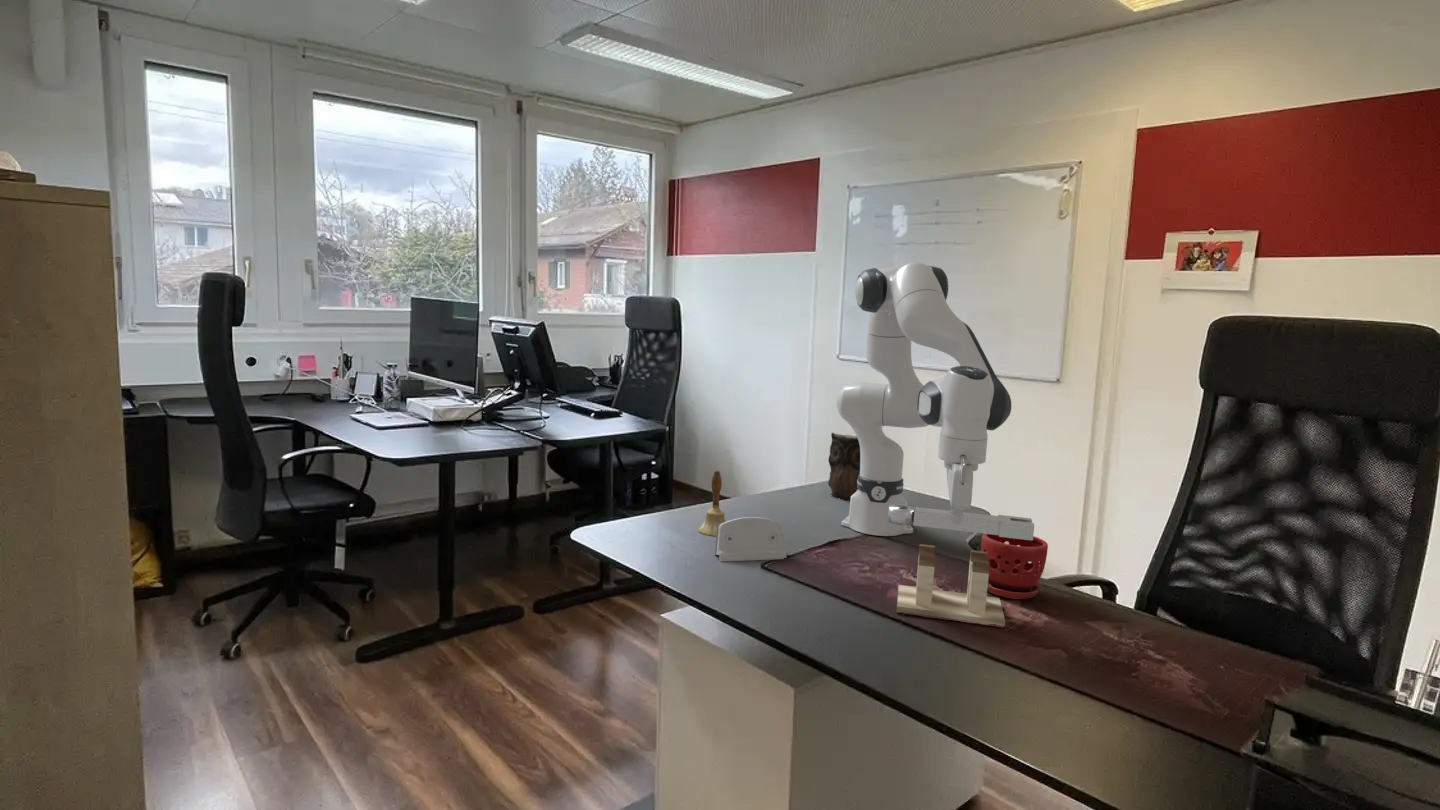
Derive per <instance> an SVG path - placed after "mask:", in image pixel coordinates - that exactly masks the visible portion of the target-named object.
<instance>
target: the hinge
mask: <svg viewBox="0 0 1440 810" xmlns="http://www.w3.org/2000/svg"><path fill="white" fill-rule="evenodd" d="M714 546H715V549H714V556H719V557H718V558H719V562H720V561H721V562H740V561H741V562H744V561H745V562H746V561H766V560H767V561H769V560H771V561H772V560H785V559H784V558H788V557H787V551H786V546H785V542H784V536H783V529H782V525H781V523H780V522H778V521H775V520H772V519H770V518H764V517H758V516H755V517H754V516H746V517H744V516H743V517H737V518H733V519H729V520H727V521H726V520H725V522H724V523H721V524H719V525H718V527H717V534H716V536H715V545H714Z"/></svg>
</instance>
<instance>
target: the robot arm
mask: <svg viewBox="0 0 1440 810" xmlns="http://www.w3.org/2000/svg"><path fill="white" fill-rule="evenodd" d="M854 295H855V300H856V302H857V306H858V307H859V308H860V310H862V311H863V312H867V313H869V316H868V323H867V334H866V335H867V336H866V338H867V340H866V360H867V363H868V365H869V366H870V367H871V368H872V369H873V370H875V371H876V372H878V373H880V374H882V375H883V376H884V377H885V378H886V379H887V381H888V383H887V384H886V383H878V382H877V383H874V382H873V383H872V382H865V381H864V382H856V383H855V382H853V383H847V384H845V385H844V386H843V387H842V388H840V391H839V392H838V394H837V398H836V409H837V412H838V413H839V416H840V417H841V418H842V419H843V420H844V421H846V422H847V424H848V425H849V426H850V427H851V429H852V430H853V432H854V434H855V436H857V438H858V441H859V445H860V474H859V475H858V479H857V488H858V490H857V491H856V492H855V493H854V494H853V495H852V496H851V499H850V501H849V502H850V503H849V511H848V515H847V516H846V517H845V518H844V519H842V520H841V526H844V527H847V528H850V529H851V530H853V531H856V532H857V533H858V532H859V533H862V534H865V535H872V536H879V537H894V536H899V535H903V534H913V533H914V528H913V527H912V525H908V526H902V525H895V524H892V523H889V522H888V511H889V505H892V504H903V505H908V501H907V499H906V498H905V497H904V496H903V494H902V493H903V491H904V478H903V468H904V467H903V466H904V457H905V454H904V450H903V448H902V446H901V445H900V444H899V443H898V442H896V441H895V440H893V439H892V438H890V437H888V436H887V435H886V434H885V433H884V431H883V427H892V428H893V427H894V428H904V429H915V428H926V427H928V426H931V427H939V428H941V430H940V433H939V441H938V453H937V455H938V456H937V457H938V459H940V460H942V461H944V462H943V467H944V468H945V469H946V483H947V489H948V497H949V498H948V499H949V504H950V508H951V509H950V511H953V513H952V523H953V524H959V525H960V524H961V523H962V516H963V512H965V510H970V509H971V506H972V499H973V487H974V486H973V485H974V472H976V471H978V469H979V465H982V464H984V463H986V460H987V448H988V447H987V446H988V438H989V437H988V436H989V435H988V431H995V430H996V429H998V428H1000V427H1001V426H1002V425H1003V424H1004V423H1005V422H1006V421H1007V420H1008V418H1009V417H1010V416H1011V412H1012V398H1011V395H1010V393H1009V392H1008V390H1007V388H1006V387H1005V385H1004V384H1003V383H1002V381H1000V379H999V378H998V377H997V375H996V373H995V371H994V369H993V367H992V365H991V363H990V361H989V359H988V358H987V356H986V354H985V352H984V350H983V348H982V347H981V344H980V343H979V341H978V339H977V337H976V335H975V333H974V332H973V330H972V329H971V328H970V327H971V326H969V325H968V324H967V323H965V322H964V321H962V320H961V319H960V318H959V317H958V316H957V315H956V314H955V313H954V312H953V310H952V309H951V308H950V306H949V304H948V303H947V299H948V295H949V280H948V276H947V274H946V273H945V270H943V268H940V267H937V266H932V265H931V266H930V265H927V264H925V263H923V262H918V261H917V262H914V261H913V262H909V263H907V264H904V265H900V266H891V267H890V266H889V267H882V268H875V267H874V268H869V269H865V270H863V271H862V272H861V273H860V274H859V275H858V277H857V280H856V283H855V287H854ZM912 342H913V343H915V344H917V345H920V346H923V347H927V348H931V349H933V350H937V351H939V352H943V353H944V354H947V355H949V356H950V357H952V358H954V359H955V361H957V363H958V364H959V366H953V367H951V368H949V369H948V371H947V372H946V375H945V376H943V377H941V378H937V379H934V380H930V381H928V382H927V383H925V384H923V383H922V382H921V381H920V379H919V378H918V376H917V373H916V372H915V370H914V366H913V361H912Z"/></svg>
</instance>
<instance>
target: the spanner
mask: <svg viewBox="0 0 1440 810" xmlns="http://www.w3.org/2000/svg"><path fill="white" fill-rule="evenodd" d="M952 513H953V511H951V510H945V509H938V508H937V509H936V508H930V507H929V508H928V507H919V506H918V507H917V506H911V505H908V504H907V505H903V504H892V505H889V511H888V522H889V523H892V524H895V525H902V526H908V525H911V526H912V525H913V526H915V527H921V528H922V527H924V528H933V529H940V530H949V531H951V530H952V531H956V532H957V531H958V532H968V533H975V534H977V533H978V534H992V535H999V537H1006V538H1015V539H1024V540H1032V541H1033V536H1034V535H1035V534H1034V533H1035V532H1034V531H1035V523H1034V522H1033V520H1032V518H1031V517H1022V516H1014V515H1003V514H998V515H991V514H984V513H982V514H981V513H975V512H965V511H964V512H963V516H962V523H961V524H960V525H959V524H953V523H952Z"/></svg>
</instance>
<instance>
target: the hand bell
mask: <svg viewBox="0 0 1440 810" xmlns="http://www.w3.org/2000/svg"><path fill="white" fill-rule="evenodd" d="M722 480H723V479H722V476H721V472H720V470H714V473H713V475H712V478H711V491H712V507H711V508H709V509H708V510H707V511H706V515H705V519H704V522H703V523H702V525H700V526H699V528H698V530H697V531H698V533H700V534H702V535H704V536H705V535H706V536H710V537H711V536H712V537H716V534H717V527H718V525H719V524H721V523H724V522H726V518H725V511H724V510H722V509H721V508H720V493H721V490H722V486H723V485H722V484H723V483H722Z"/></svg>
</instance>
